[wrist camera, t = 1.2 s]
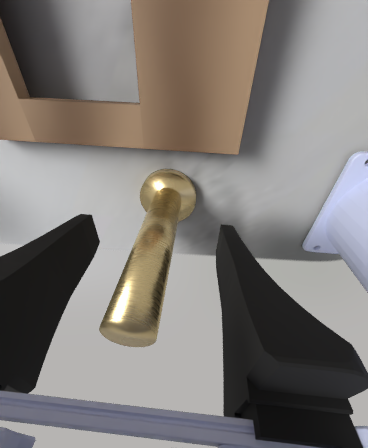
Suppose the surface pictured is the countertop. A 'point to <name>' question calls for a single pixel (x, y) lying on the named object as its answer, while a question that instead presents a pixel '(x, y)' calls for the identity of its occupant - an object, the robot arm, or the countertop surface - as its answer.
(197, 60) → the keyhole plate
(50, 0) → the countertop surface
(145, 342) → the peg
